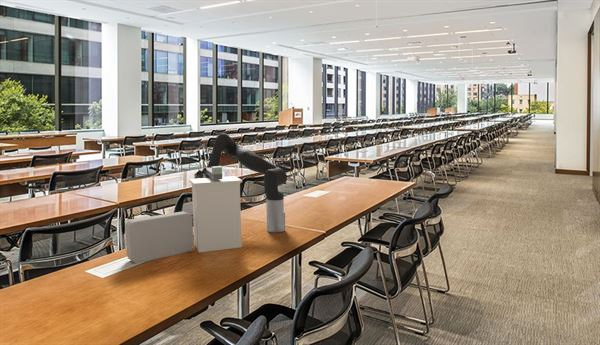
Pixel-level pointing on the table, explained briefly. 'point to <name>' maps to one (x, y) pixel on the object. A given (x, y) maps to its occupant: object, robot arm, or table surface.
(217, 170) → the bar
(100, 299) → the table surface
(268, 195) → the robot arm
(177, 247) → the rounded white slab
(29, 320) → the table surface
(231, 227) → the tall stand
